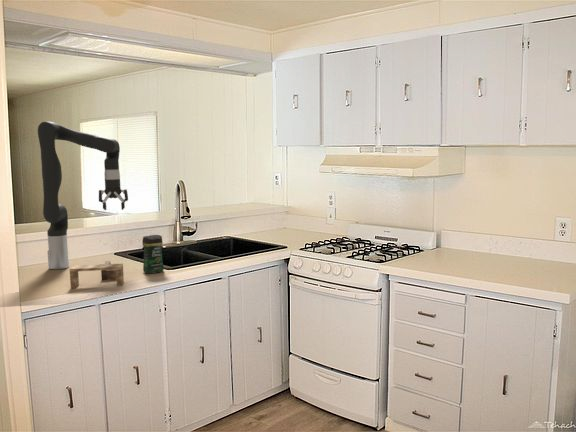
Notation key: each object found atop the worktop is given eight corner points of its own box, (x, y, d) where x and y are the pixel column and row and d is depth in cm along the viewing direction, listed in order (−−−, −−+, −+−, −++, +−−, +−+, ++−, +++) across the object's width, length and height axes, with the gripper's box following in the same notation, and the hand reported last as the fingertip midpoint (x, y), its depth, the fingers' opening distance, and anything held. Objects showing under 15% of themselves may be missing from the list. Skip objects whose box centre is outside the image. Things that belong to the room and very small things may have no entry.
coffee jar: (148, 274, 268) (146, 237, 266) (141, 272, 274) (139, 235, 272) (166, 271, 274) (164, 235, 272) (158, 269, 280) (157, 233, 278)
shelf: (70, 288, 245) (69, 269, 244) (74, 284, 252) (73, 265, 250) (121, 285, 248) (120, 266, 247) (123, 281, 255) (122, 263, 254)
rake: (101, 280, 259) (101, 269, 258) (105, 270, 278) (105, 261, 278) (118, 279, 261) (117, 268, 260) (121, 269, 280) (120, 260, 279)
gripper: (96, 179, 275) (98, 211, 277) (125, 178, 277) (127, 210, 279) (99, 178, 283) (101, 209, 285) (127, 177, 285) (129, 208, 287)
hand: (114, 209), depth 282 cm, fingers open, 8 cm apart
